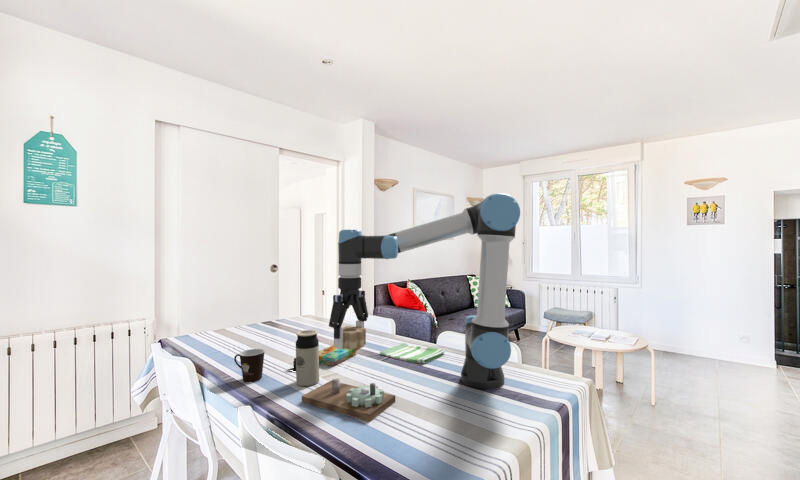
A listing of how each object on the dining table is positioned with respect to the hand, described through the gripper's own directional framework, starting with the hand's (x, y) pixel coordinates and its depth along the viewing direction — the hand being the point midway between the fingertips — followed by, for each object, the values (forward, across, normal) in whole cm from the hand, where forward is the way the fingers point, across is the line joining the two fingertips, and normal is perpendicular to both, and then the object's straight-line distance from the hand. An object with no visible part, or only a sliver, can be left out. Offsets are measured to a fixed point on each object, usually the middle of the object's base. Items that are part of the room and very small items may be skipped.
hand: (349, 344), depth 118 cm
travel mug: (+17, -1, -20) cm, 27 cm away
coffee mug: (+18, +6, -42) cm, 46 cm away
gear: (+15, +4, +9) cm, 18 cm away
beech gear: (0, 0, 0) cm, 0 cm away
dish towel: (+17, -47, -2) cm, 50 cm away
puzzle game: (+17, -28, -29) cm, 43 cm away
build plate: (+18, -11, -34) cm, 40 cm away
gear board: (+17, +4, +3) cm, 17 cm away
